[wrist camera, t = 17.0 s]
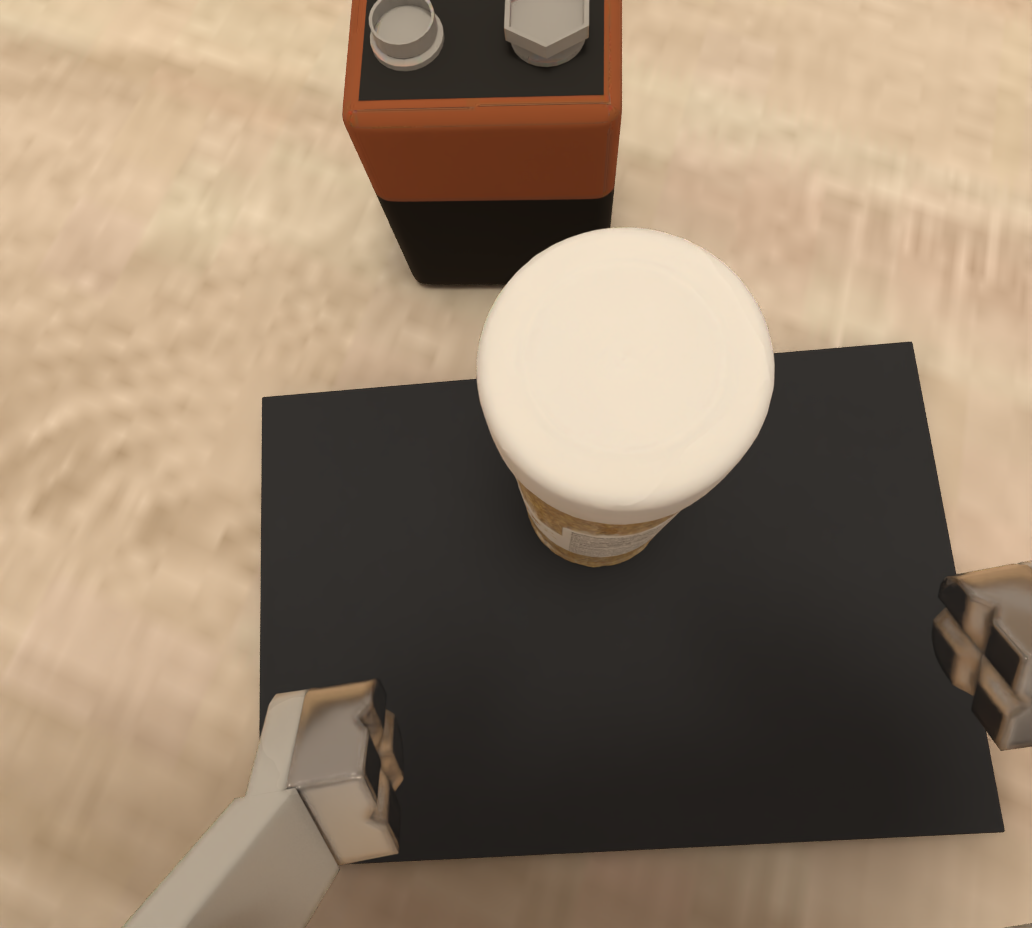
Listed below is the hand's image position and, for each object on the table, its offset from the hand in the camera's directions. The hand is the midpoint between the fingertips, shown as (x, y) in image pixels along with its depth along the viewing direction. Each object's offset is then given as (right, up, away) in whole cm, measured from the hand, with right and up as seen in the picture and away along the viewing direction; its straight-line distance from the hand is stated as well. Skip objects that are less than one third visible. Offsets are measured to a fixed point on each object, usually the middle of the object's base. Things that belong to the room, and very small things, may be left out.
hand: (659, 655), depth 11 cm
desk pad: (+1, -1, +13) cm, 13 cm away
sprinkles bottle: (+1, +2, +14) cm, 14 cm away
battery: (-2, +11, +16) cm, 20 cm away
